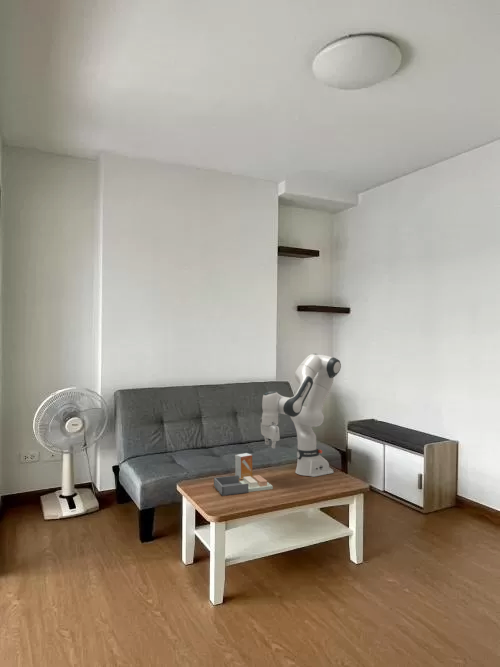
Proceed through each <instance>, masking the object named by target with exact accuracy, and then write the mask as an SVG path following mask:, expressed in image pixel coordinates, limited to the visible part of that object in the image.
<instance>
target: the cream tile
mask: <svg viewBox="0 0 500 667" xmlns="http://www.w3.org/2000/svg"><path fill="white" fill-rule="evenodd" d="M242 481H243V482H245V483H246V484H247V483H248V486H249V487H250V488H252V487H258V485H257V481H255V480H254V479H253V476H252V477H251V476H247V477H243V479H242Z"/></svg>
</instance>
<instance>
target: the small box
mask: <svg viewBox="0 0 500 667" xmlns="http://www.w3.org/2000/svg"><path fill="white" fill-rule="evenodd" d="M234 456H235V457H234V459H235V462H234V463H235V464H234V467H235V473H234V475H239V478H243V477H247V476H251V477H252V478H253V454H251V453H248V452H245V453H238V454H235V455H234Z"/></svg>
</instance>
